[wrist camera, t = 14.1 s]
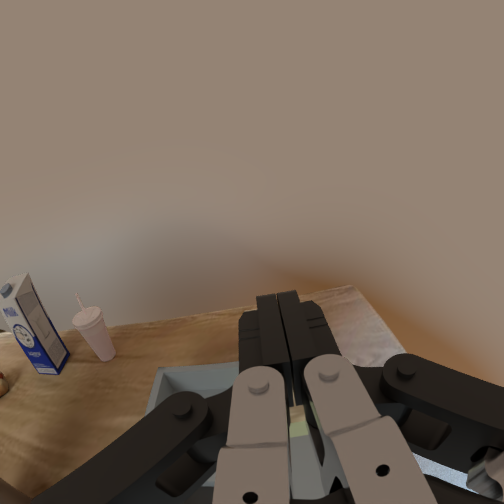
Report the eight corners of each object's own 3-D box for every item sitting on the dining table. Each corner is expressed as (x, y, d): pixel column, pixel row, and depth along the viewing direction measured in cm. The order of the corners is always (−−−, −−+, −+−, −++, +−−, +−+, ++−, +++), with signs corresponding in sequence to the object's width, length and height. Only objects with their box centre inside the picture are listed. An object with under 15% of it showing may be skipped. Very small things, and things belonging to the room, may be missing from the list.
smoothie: (118, 341, 49) (90, 282, 43) (124, 358, 44) (92, 295, 38) (92, 352, 45) (62, 294, 40) (96, 370, 40) (61, 308, 35)
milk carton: (70, 353, 45) (28, 271, 37) (59, 374, 39) (9, 287, 31) (50, 354, 45) (9, 276, 37) (38, 373, 38) (-9, 292, 31)
